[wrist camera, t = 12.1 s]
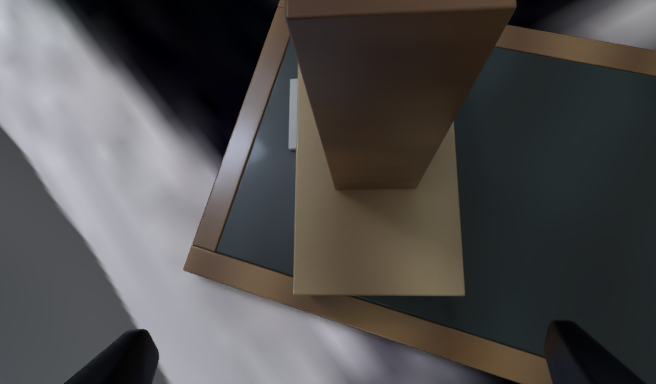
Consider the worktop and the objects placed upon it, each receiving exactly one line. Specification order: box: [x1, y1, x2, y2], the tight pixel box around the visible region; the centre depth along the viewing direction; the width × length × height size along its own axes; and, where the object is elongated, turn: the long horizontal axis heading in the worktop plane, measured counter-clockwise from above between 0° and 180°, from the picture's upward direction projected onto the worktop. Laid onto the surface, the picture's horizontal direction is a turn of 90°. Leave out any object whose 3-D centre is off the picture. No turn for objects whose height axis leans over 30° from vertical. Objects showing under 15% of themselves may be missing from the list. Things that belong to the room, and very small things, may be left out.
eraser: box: [285, 0, 517, 296], centre depth 12 cm, size 6×11×13 cm, turn 0°
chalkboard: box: [183, 0, 656, 384], centre depth 18 cm, size 24×15×1 cm, turn 73°
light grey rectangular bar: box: [288, 79, 298, 151], centre depth 19 cm, size 1×4×1 cm, turn 0°
